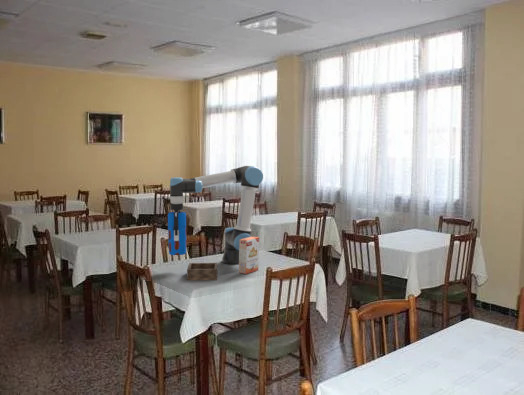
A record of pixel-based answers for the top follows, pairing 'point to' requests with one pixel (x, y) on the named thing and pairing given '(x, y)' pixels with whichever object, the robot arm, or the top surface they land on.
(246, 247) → the cracker box
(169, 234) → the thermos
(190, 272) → the open wooden box
